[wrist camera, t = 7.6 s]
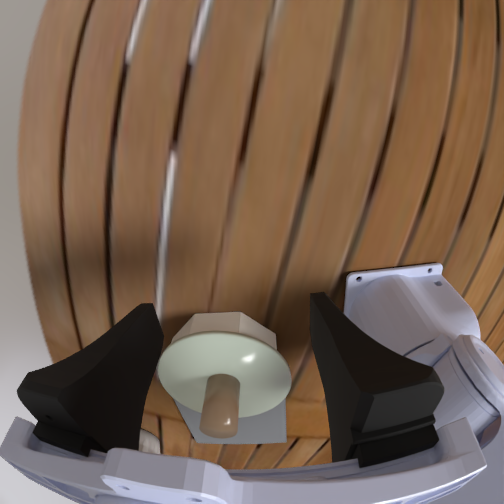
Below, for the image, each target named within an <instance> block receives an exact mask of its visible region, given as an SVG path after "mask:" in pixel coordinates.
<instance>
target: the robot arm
mask: <svg viewBox="0 0 504 504" xmlns="http://www.w3.org/2000/svg"><path fill="white" fill-rule="evenodd" d="M429 268H430V270H429V271H428V269H429ZM442 269H443V267H442V265H441V264H440V263H432V264H424V265H416V266H407V267H399V268H390V269H381V270H371V271H362V272H352V273H350V274H348V276H347V278H346V291H345V303H344V313H343V312H342V311H341V310H340V309H339V308H338V307H337V306H336V305H335V304H334V303H333V301H332V300H331V299H330V298H329V297H328V296H327V294H326V293H324V292H320V293H310V334H311V340H312V347H313V351H314V355H315V358H316V362H317V365H318V369H319V373H320V376H321V380H322V384H323V387H324V392H325V398H326V405H327V412H328V420H329V428H330V438H331V448H332V462H333V463H328V464H320V465H313V466H304V467H293V468H280V469H256V470H230V469H224V468H222V467H221V466H220V465H218V464H216V463H213V462H210V461H207V460H203V459H197V458H191V457H181V456H171V455H163V454H156V453H149V452H143V451H139V441H140V430H141V423H142V416H143V411H144V405H145V400H146V396H147V393H148V389H149V386H150V383H151V381H152V378H153V375H154V372H155V369H156V366H157V363H158V360H159V357H160V354H161V350H162V345H163V339H164V335H163V332H162V329H161V326H160V323H159V321H158V318H157V315H156V312H155V309H154V306H153V303H145V304H140V305H139V306H137V307H136V308H135V309H133V310H132V311H131V312H130V313H129V314H128V315H126V316H125V317H124V318H123V319H122V320H121V321H119V322H118V323H117V324H116V325H115V326H114V327H112V328H111V329H110V330H109V331H107V332H106V333H105V334H103V335H102V336H101V337H100V338H98V339H97V340H96V341H94V342H93V343H91V344H90V345H88V346H87V347H85V348H84V349H82V350H81V351H79V352H77V353H75V354H73V355H71V356H70V357H68V358H66V359H64V360H62V361H60V362H57V363H55V364H53V365H50V366H47V367H45V368H42V369H39V370H35V371H32V372H29V373H28V374H27V375H26V377H25V378H24V380H23V381H22V383H21V385H20V386H19V388H18V389H17V394H18V397H19V399H20V400H21V401H22V403H23V404H24V406H25V407H26V408H27V409H28V410H29V411H30V413H31V414H32V415H33V416H34V417H35V418H36V419H37V420H38V422H37V424H36V426H35V425H34V424H33V423H31V422H29V421H27V420H24V419H22V418H19V417H16V418H15V419H14V421H13V423H12V425H11V427H10V429H9V431H8V433H7V435H6V437H5V439H4V441H3V443H2V445H1V447H0V456H1V457H2V458H3V459H5V460H6V461H7V462H8V463H9V464H11V465H12V466H13V467H14V468H16V469H17V470H18V471H20V472H21V473H22V474H24V475H25V476H26V477H28V478H29V479H31V480H32V481H34V482H36V483H38V484H40V485H42V486H44V487H46V488H48V489H50V490H52V491H54V492H56V493H58V494H60V495H62V496H64V497H66V498H68V499H70V500H73V501H75V502H77V503H79V504H504V365H503V364H502V362H501V361H500V360H499V359H498V357H497V356H496V355H495V354H494V353H493V352H492V350H491V349H490V348H489V347H488V346H487V345H486V344H485V343H484V342H482V341H481V340H480V329H479V324H478V321H477V318H476V315H475V313H474V312H473V310H472V309H471V307H470V306H469V305H468V304H467V303H466V301H465V300H464V299H463V298H462V297H461V296H460V295H459V293H458V292H457V291H456V290H455V289H454V288H453V287H452V286H451V285H450V284H449V282H448V281H447V280H446V279H445V278H444V277H443V276H442V275H441V274H442ZM359 276H360V279H358V280H357V279H356V278H357V277H359Z"/></svg>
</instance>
